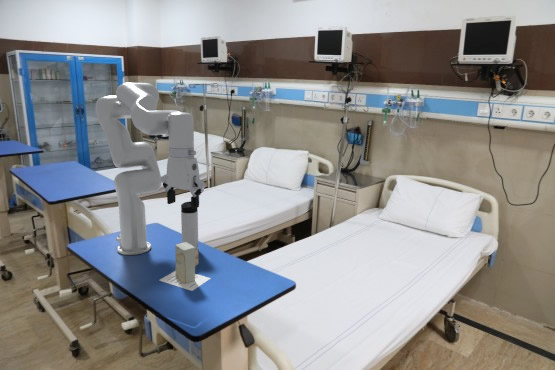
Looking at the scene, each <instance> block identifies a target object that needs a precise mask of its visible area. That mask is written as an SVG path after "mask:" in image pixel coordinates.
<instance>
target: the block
mask: <svg viewBox="0 0 555 370" xmlns="http://www.w3.org/2000/svg"><path fill="white" fill-rule="evenodd" d="M198 265H199V249H198V250H197V249H195V267H196V266H198Z"/></svg>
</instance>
